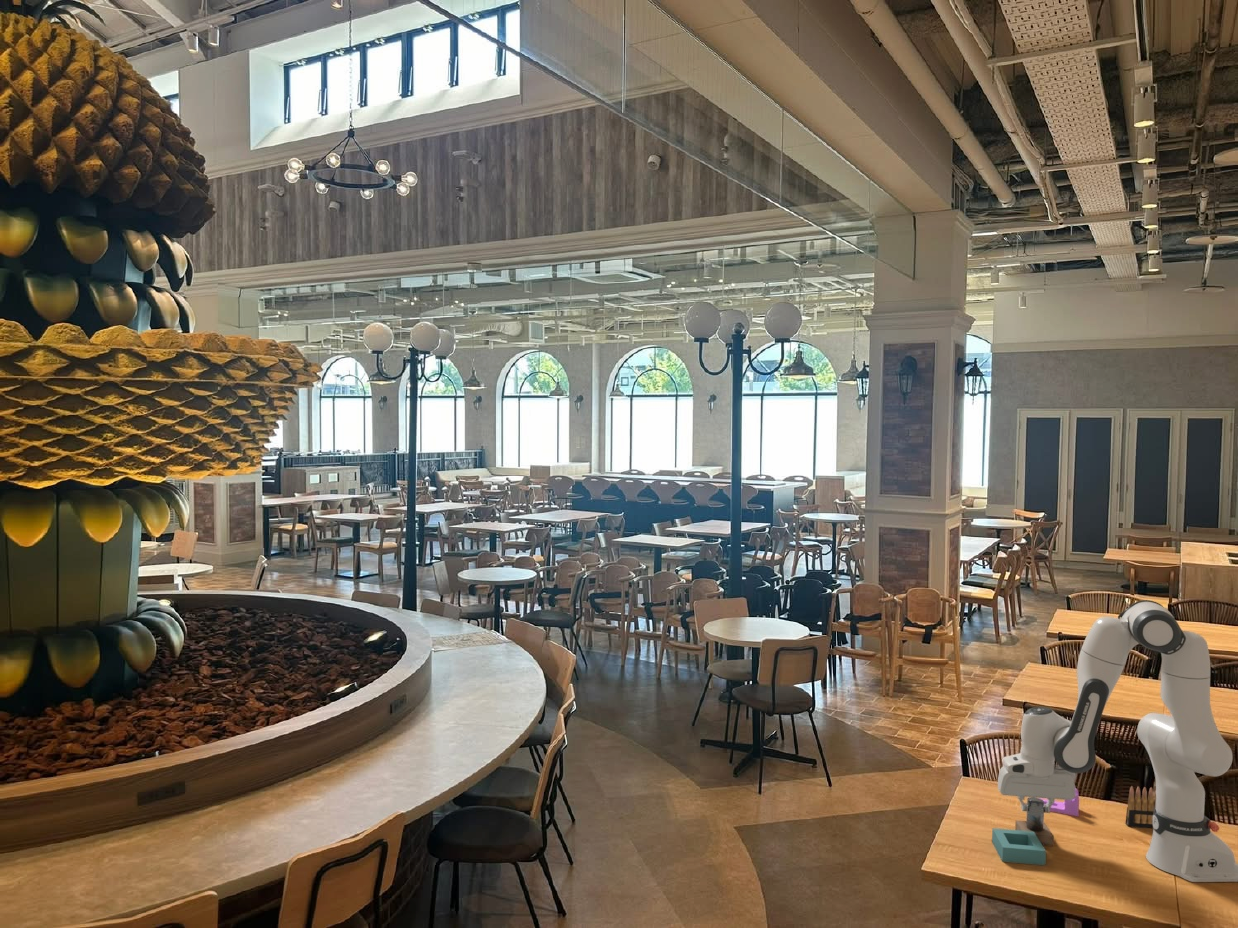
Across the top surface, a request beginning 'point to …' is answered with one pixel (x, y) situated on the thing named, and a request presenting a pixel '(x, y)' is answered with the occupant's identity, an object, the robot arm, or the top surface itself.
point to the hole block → (1018, 846)
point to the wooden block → (1038, 833)
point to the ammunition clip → (1140, 809)
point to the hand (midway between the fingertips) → (1035, 811)
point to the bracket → (1066, 805)
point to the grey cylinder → (1035, 814)
